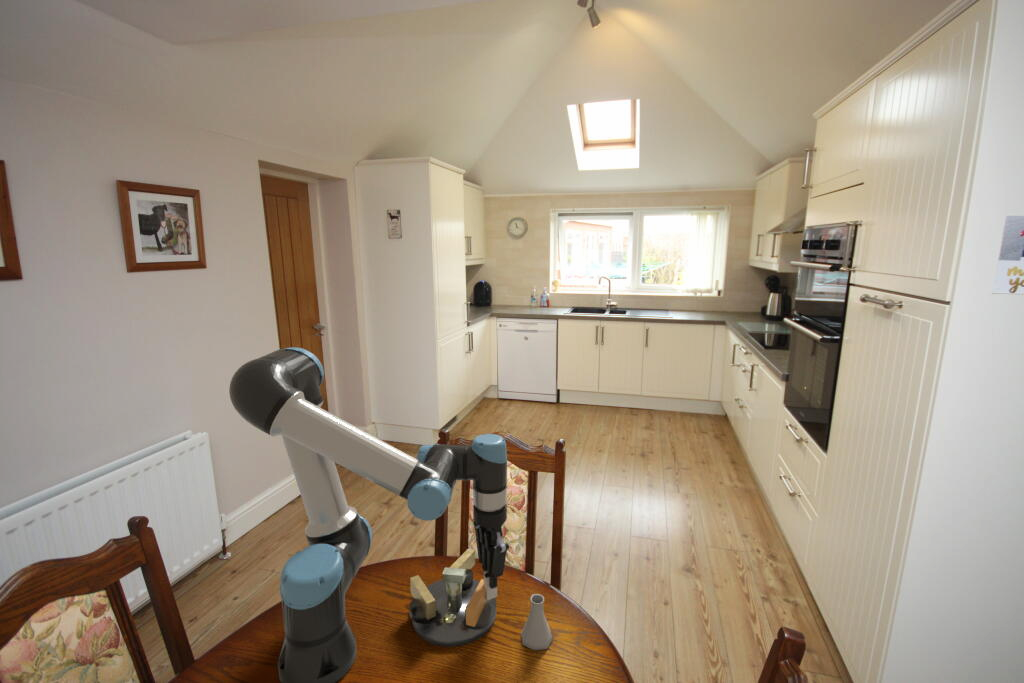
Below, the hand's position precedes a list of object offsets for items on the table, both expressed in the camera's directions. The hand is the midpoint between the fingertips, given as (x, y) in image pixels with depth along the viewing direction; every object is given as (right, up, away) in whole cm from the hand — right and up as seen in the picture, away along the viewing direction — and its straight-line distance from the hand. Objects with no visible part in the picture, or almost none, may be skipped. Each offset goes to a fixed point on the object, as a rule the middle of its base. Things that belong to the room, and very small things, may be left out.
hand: (490, 596), depth 110 cm
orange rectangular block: (-3, -4, -2) cm, 5 cm away
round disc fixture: (-9, -5, +4) cm, 11 cm away
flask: (+11, -7, -4) cm, 13 cm away
